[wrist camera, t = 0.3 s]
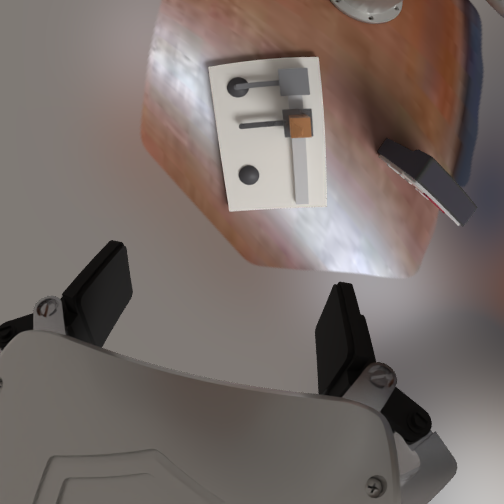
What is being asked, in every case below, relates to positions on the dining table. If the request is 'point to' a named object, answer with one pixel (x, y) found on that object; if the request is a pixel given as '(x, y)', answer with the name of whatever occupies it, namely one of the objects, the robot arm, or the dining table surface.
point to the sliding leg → (289, 123)
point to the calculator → (429, 180)
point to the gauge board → (269, 133)
